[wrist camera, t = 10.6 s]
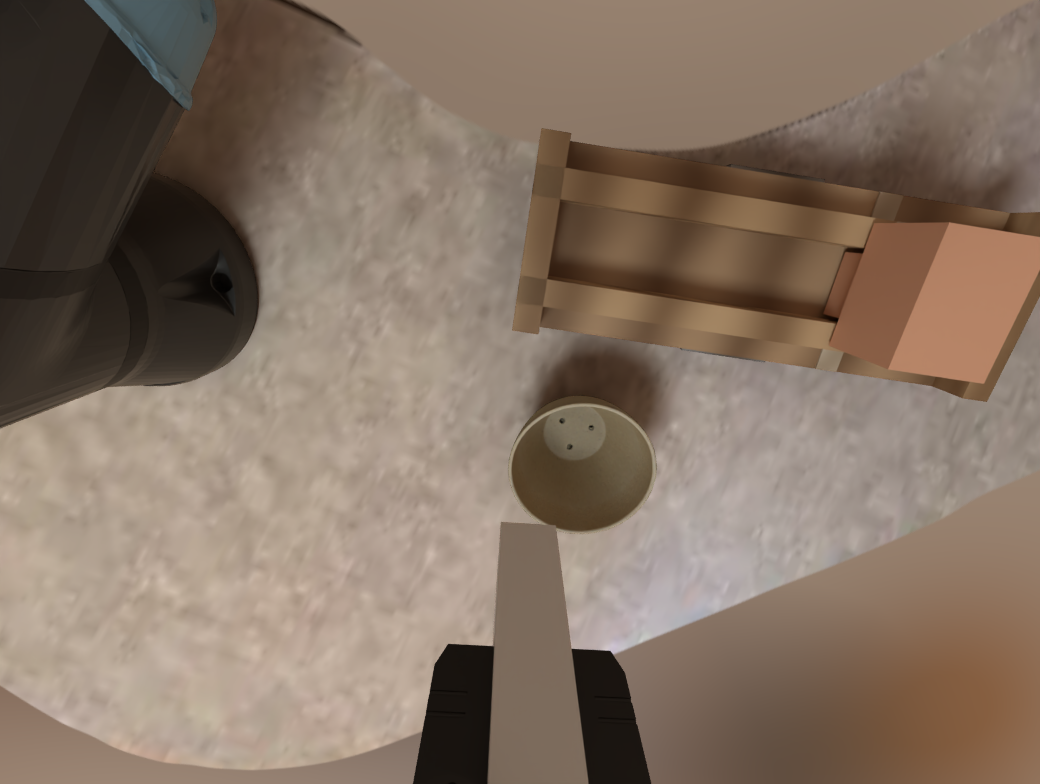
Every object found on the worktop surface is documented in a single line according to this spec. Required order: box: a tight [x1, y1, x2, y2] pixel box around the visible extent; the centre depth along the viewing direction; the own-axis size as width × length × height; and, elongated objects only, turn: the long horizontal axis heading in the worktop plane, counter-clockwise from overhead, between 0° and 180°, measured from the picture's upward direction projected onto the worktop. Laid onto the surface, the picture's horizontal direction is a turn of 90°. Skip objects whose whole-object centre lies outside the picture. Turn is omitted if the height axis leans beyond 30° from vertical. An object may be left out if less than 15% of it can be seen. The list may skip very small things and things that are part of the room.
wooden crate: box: [512, 128, 1040, 402], centre depth 31 cm, size 30×12×8 cm, turn 82°
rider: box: [823, 222, 1040, 384], centre depth 26 cm, size 5×7×7 cm
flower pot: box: [508, 396, 657, 534], centre depth 36 cm, size 10×10×7 cm
